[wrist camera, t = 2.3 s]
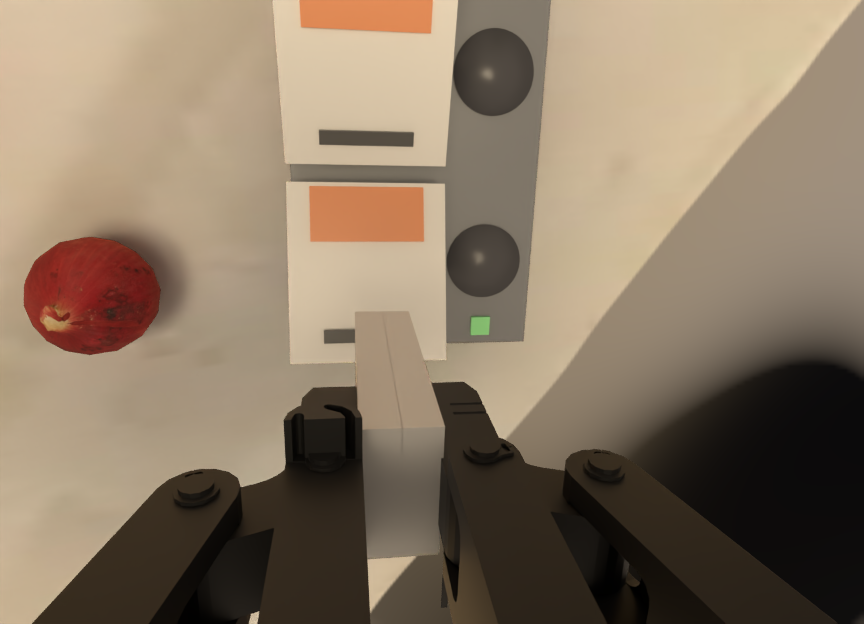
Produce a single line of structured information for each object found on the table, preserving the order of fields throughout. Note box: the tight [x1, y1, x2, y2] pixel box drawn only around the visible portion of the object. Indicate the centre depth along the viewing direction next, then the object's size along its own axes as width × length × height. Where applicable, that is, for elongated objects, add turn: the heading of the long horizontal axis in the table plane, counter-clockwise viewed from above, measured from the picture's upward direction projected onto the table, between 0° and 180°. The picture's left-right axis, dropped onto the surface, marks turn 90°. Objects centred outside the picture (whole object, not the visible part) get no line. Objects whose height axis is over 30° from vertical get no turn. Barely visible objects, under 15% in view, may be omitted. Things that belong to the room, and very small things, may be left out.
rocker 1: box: [272, 0, 458, 166], centre depth 24 cm, size 7×8×2 cm
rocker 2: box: [286, 182, 446, 364], centre depth 27 cm, size 7×8×2 cm
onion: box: [24, 237, 161, 355], centre depth 29 cm, size 6×6×8 cm
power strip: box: [290, 0, 551, 343], centre depth 29 cm, size 12×31×6 cm, turn 179°
